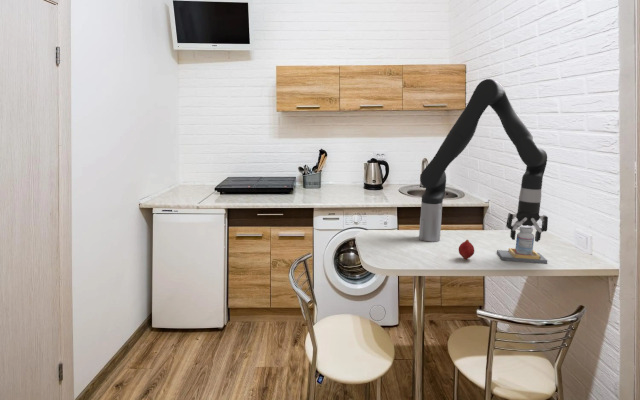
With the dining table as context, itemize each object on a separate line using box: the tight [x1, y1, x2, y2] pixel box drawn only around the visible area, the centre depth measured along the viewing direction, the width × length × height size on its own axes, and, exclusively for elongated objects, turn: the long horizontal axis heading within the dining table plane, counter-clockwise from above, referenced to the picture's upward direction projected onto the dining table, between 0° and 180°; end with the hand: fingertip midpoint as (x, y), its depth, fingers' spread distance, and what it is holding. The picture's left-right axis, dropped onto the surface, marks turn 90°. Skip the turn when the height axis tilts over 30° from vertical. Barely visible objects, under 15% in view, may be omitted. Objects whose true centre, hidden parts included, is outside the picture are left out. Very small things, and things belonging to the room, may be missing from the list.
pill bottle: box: [514, 225, 535, 256], centre depth 158 cm, size 6×6×11 cm
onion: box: [458, 239, 475, 260], centre depth 156 cm, size 6×6×8 cm
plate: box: [496, 247, 548, 264], centre depth 159 cm, size 16×10×2 cm, turn 79°
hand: (524, 240), depth 158 cm, fingers open, 8 cm apart
